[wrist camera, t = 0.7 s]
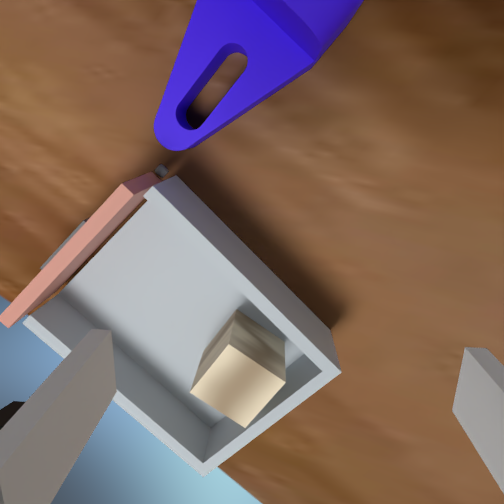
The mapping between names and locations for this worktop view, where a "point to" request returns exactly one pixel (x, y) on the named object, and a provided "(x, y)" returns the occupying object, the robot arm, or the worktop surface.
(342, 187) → the worktop surface
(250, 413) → the beige block
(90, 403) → the robot arm
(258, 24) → the bracket
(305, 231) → the worktop surface
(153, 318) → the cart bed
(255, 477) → the worktop surface
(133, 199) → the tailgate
